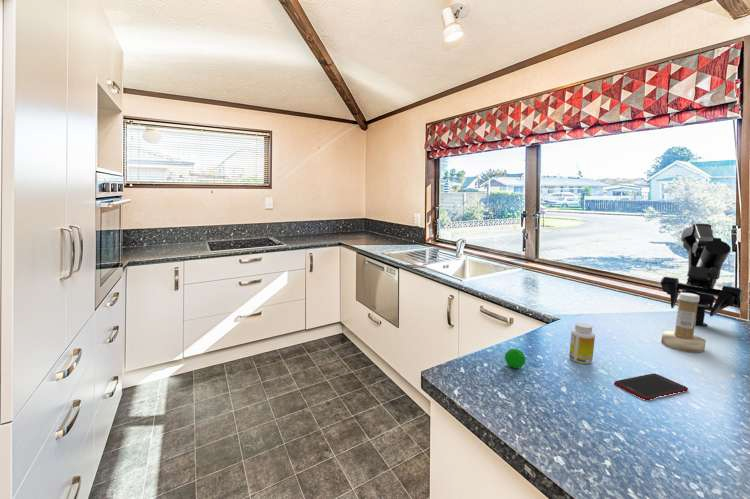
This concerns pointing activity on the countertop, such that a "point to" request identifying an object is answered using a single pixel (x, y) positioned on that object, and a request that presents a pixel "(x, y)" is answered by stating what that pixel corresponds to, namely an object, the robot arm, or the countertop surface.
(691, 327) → the sprinkles bottle
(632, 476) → the countertop surface
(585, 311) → the countertop surface
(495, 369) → the countertop surface
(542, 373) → the countertop surface
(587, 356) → the supplement bottle
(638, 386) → the cell phone
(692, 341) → the round beige base
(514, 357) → the green ball
